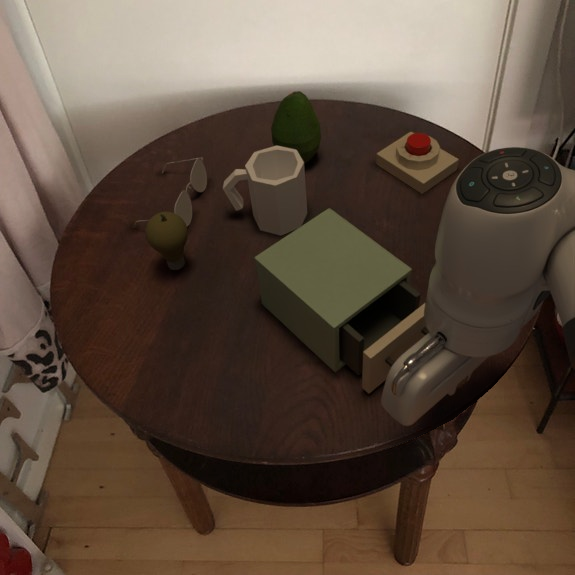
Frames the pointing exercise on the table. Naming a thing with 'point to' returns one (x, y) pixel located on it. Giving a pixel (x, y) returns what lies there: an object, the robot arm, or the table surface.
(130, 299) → the table surface
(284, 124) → the fruit
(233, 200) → the mug
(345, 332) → the drawer
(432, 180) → the button block
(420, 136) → the button
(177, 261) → the light bulb
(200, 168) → the sunglasses
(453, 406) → the table surface
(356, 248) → the cabinet
